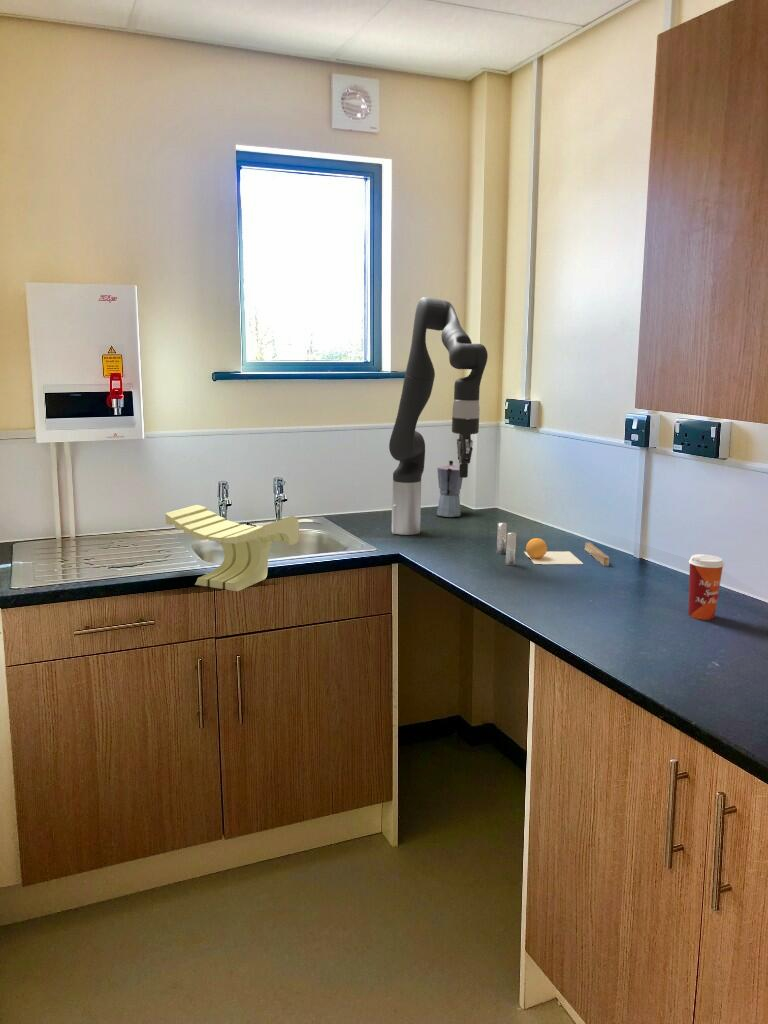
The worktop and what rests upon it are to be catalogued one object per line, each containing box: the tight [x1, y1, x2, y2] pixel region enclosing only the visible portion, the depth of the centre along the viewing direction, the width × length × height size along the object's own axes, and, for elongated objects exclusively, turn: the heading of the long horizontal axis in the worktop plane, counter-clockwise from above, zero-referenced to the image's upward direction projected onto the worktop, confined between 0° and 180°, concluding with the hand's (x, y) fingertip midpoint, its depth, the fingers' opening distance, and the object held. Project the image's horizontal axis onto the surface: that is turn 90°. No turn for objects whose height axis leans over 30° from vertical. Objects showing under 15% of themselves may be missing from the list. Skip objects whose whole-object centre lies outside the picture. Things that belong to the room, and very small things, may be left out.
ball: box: [525, 537, 548, 559], centre depth 243 cm, size 6×6×6 cm
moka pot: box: [436, 460, 464, 518], centre depth 299 cm, size 10×15×20 cm, turn 174°
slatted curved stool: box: [165, 504, 300, 592], centre depth 216 cm, size 30×16×18 cm, turn 65°
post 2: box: [505, 531, 517, 566], centre depth 236 cm, size 3×3×9 cm
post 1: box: [496, 521, 508, 555], centre depth 248 cm, size 3×3×9 cm
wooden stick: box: [584, 541, 610, 567], centre depth 244 cm, size 2×18×2 cm, turn 3°
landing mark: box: [523, 550, 584, 565], centre depth 244 cm, size 14×14×1 cm
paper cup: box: [688, 553, 725, 621], centre depth 192 cm, size 8×8×14 cm
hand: (463, 477), depth 237 cm, fingers closed
